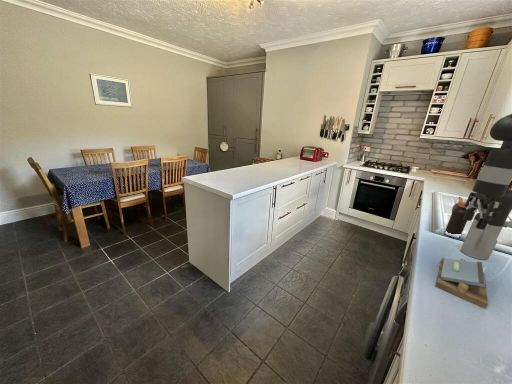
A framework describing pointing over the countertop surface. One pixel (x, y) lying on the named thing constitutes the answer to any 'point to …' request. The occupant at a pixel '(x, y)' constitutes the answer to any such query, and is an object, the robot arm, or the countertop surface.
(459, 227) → the bottle
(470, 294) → the base
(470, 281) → the level plate
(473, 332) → the countertop surface
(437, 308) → the countertop surface
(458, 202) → the vegetable
